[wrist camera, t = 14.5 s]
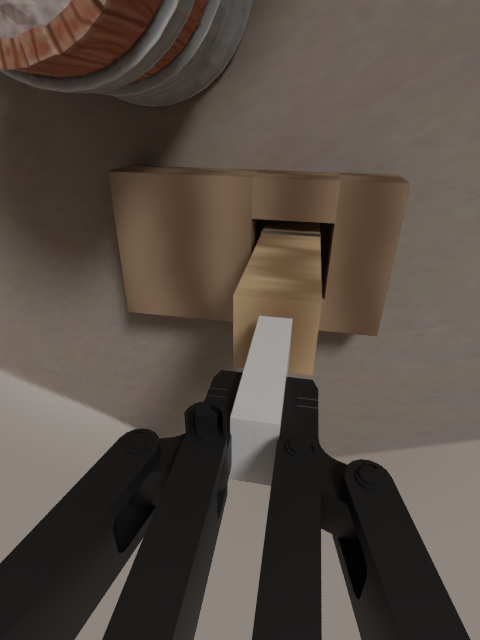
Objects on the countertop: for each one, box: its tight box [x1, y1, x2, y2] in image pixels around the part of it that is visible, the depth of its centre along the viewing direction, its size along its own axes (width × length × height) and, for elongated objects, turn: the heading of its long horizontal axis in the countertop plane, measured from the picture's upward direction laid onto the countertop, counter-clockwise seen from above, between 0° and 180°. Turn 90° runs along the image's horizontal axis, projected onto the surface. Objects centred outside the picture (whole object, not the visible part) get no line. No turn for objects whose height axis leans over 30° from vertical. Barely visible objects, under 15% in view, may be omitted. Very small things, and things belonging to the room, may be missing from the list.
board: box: [108, 165, 410, 336], centre depth 29 cm, size 20×11×4 cm, turn 89°
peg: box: [233, 220, 322, 375], centre depth 24 cm, size 4×4×14 cm
